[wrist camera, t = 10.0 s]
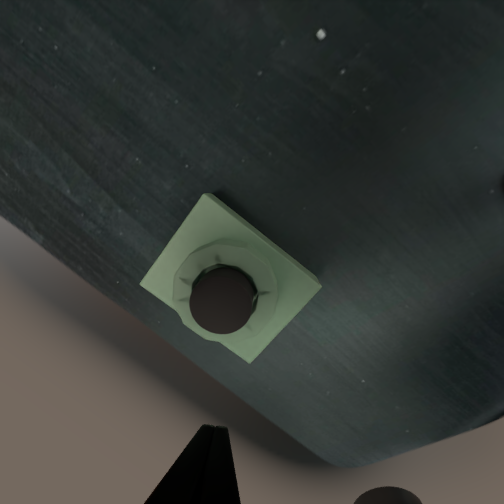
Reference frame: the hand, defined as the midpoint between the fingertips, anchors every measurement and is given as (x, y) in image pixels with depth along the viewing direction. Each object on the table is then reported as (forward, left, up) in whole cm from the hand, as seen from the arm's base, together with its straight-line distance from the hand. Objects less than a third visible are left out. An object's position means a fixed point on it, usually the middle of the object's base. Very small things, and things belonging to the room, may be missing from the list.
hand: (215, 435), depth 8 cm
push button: (+2, 0, -8) cm, 8 cm away
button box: (+2, 0, -12) cm, 12 cm away
